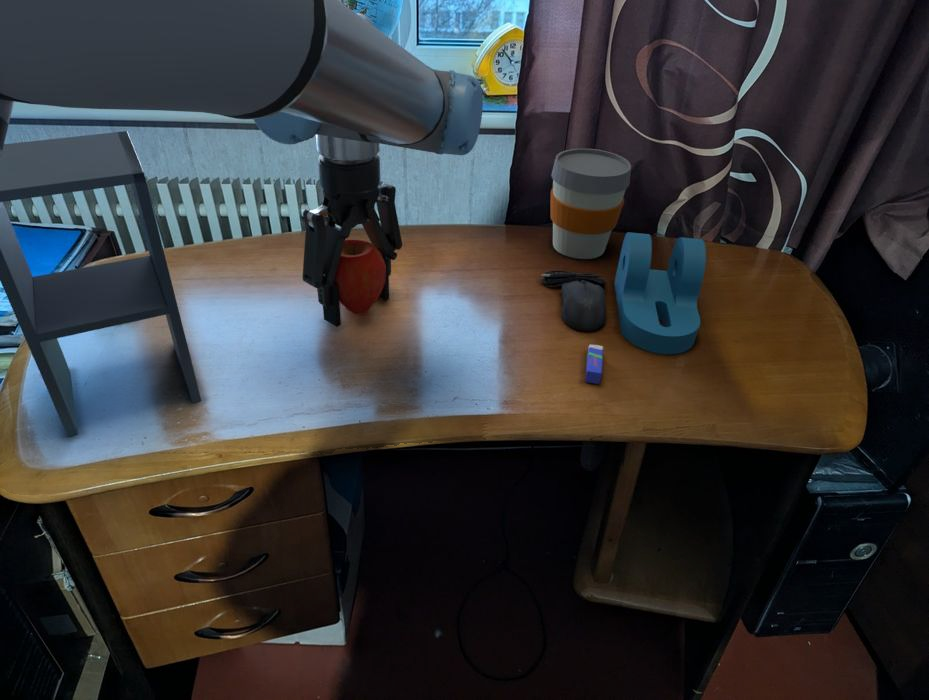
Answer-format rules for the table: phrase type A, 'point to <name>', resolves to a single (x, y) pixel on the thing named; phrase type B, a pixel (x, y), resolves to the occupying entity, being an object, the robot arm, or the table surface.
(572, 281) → the computer mouse
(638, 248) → the bracket
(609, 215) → the reusable coffee cup
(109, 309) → the shelf
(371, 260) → the apple
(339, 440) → the table surface
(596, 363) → the eraser
